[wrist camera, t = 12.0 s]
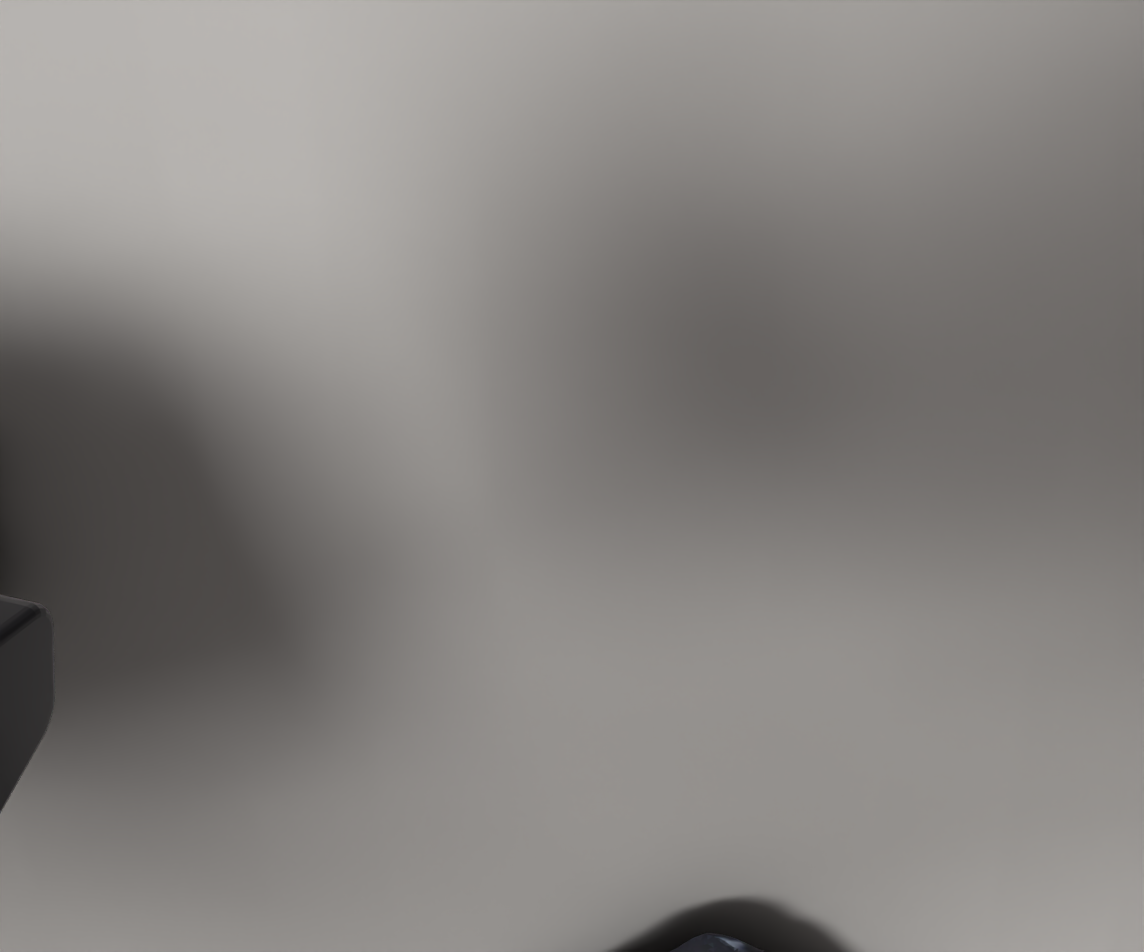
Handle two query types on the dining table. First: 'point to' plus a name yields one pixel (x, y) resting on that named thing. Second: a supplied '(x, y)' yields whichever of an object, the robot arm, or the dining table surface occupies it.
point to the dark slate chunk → (715, 944)
